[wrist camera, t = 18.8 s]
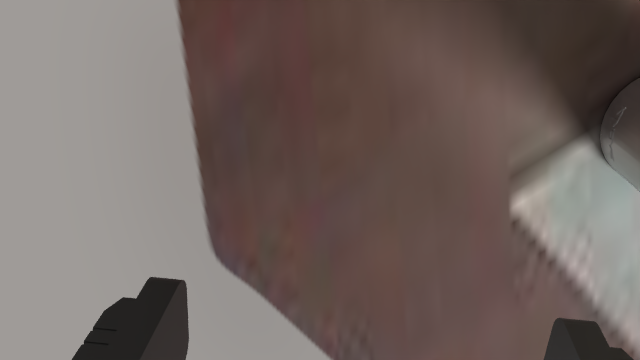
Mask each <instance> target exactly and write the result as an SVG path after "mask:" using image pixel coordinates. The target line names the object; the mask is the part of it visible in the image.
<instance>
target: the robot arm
mask: <svg viewBox="0 0 640 360" xmlns="http://www.w3.org/2000/svg"><path fill="white" fill-rule="evenodd" d="M600 141H601V148H602V151H603V154H604V156H605V159H606V160H607V162H608V163H609V164H610V166H611V167H612V168H613V169H614V170H615V171H617V172H618V173H619V174H620V175H621V176H622V177H623V178H625V179H626V180H627V181H628V182H629V183H630V184H631V185H633V186H634V187H635V188H636V189H637V190H638V191H639V192H640V78H638V79H636V80H635V81H633V82H631V83H630V84H629V85H628V86H626V87H625V88H624V89H623V90H622V91H621V92H620V93H619V94H618V95H617V96H616V98H615V99H614V100H613V101H612V102H611V104H610V106H609V108H608V110H607V111H606V113H605V116H604V119H603V122H602V125H601V133H600ZM188 341H189V332H188V308H187V288H186V283H185V281H184V280H176V279H167V278H156V277H150V278H149V279H148V280H147V282H146V283H145V285H144V287H143V288H142V290H141V292H140V293H139V295H138V297H137V298H136V299H135V298H124V297H123V298H122V299H120V300H119V301H117V302H116V303H115V304H113V305H112V306H110V307H109V308H108V309H106V310H105V311H104V312H103V313H102V315H101V316H100V318H99V319H98V321H97V322H96V324H95V326H94V327H93V331H90V333H89V334H88V336H87V337H86V339H85V340H84V344H83V345H81V347H80V348H79V349H78V351H77V352H76V354H75V356H74V357H73V358H72V360H185V359H186V355H187V349H188ZM544 360H633V359H632V358H631V357H630V356H629V355H628V354H627V353H626V352H625V351H624V350H622V349H621V348H613V347H609V345H608V343H607V341H606V339H605V337H604V335H603V333H602V331H601V329H600V328H599V326H598V324H597V323H596V322H594V321H585V320H575V319H565V318H557V319H556V320H555V322H554V324H553V327H552V331H551V335H550V339H549V342H548V346H547V350H546V353H545V357H544Z"/></svg>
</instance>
